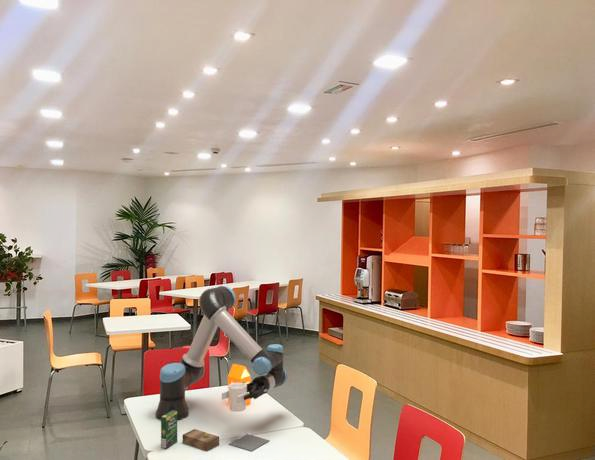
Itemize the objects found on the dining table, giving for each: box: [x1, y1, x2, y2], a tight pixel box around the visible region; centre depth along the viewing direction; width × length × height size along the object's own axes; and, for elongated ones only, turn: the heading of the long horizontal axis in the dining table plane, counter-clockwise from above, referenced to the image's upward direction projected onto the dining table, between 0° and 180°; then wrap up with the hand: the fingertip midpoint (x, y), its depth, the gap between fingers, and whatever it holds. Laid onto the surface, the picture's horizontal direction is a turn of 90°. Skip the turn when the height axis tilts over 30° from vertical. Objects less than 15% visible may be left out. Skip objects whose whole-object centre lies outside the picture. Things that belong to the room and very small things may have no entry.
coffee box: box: [160, 410, 178, 450], centre depth 208 cm, size 8×3×13 cm, turn 159°
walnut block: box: [182, 428, 220, 452], centre depth 209 cm, size 14×7×5 cm, turn 57°
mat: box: [228, 433, 270, 453], centre depth 210 cm, size 12×12×1 cm
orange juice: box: [227, 363, 252, 407], centre depth 256 cm, size 8×9×20 cm
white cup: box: [227, 383, 247, 412], centre depth 214 cm, size 8×8×10 cm
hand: (230, 398), depth 210 cm, fingers closed on white cup, 8 cm apart
